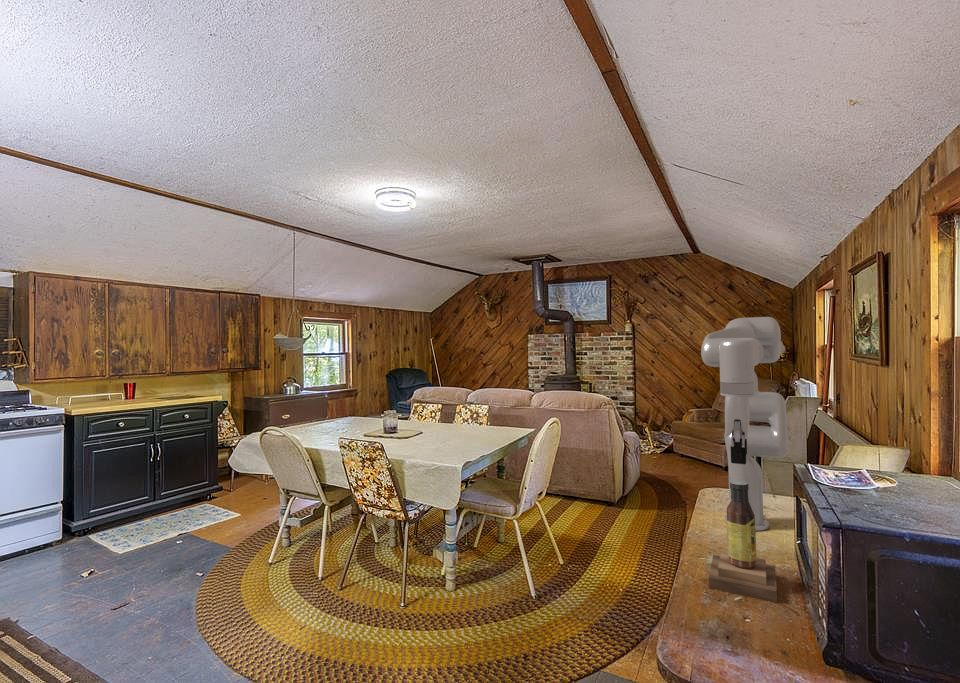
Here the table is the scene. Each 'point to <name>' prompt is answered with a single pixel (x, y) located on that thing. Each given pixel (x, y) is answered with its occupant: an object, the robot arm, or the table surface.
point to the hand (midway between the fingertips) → (739, 458)
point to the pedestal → (743, 578)
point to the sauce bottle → (741, 527)
